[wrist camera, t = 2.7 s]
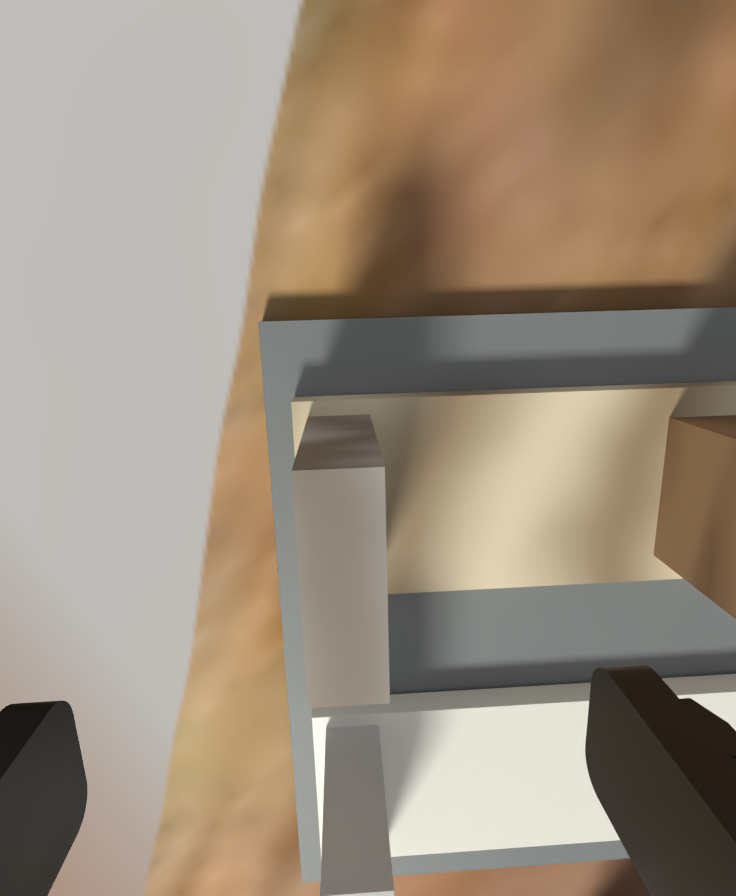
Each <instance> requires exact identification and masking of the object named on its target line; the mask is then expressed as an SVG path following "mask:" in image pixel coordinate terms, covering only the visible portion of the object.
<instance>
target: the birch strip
mask: <svg viewBox="0 0 736 896" xmlns="http://www.w3.org/2000/svg"><path fill="white" fill-rule="evenodd" d="M291 407H292V423H293V438H294V453H295V461H294V464H293V467H292V471H291V472H292V487H293V501H294V516H295V531H296V546H297V561H298V575H299V590H300V605H301V620H302V634H303V649H304V664H305V679H306V694H307V708H322V707H338V706H354V705H371V704H387V703H390V682H389V637H388V594H400V593H420V592H439V591H458V590H477V589H496V588H515V587H534V586H553V585H573V584H592V583H611V582H630V581H649V580H668V579H683V578H682V577H681V576H680V575H678V574H677V573H676V572H674V571H673V570H672V569H671V568H669V567H668V566H667V565H665V564H664V563H663V562H662V561H660V560H659V559H658V558H656V557H655V556H654V555H653V554H654V545H655V537H656V528H657V519H658V511H659V502H660V493H661V484H662V476H663V467H664V458H665V449H666V441H667V432H668V423H669V418H674V417H700V416H725V415H736V381H719V382H691V383H664V384H636V385H609V386H582V387H554V388H527V389H499V390H472V391H444V392H417V393H390V394H362V395H335V396H307V397H293V399H292V401H291Z"/></svg>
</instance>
